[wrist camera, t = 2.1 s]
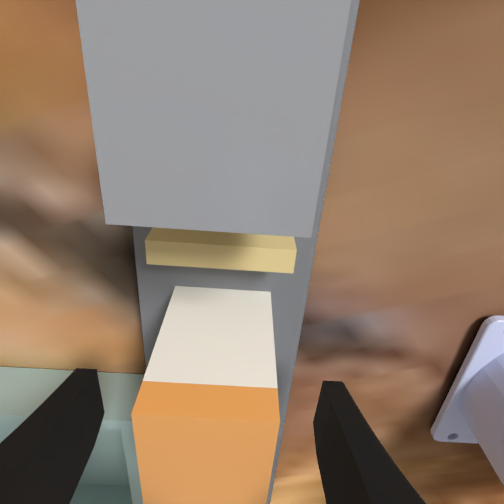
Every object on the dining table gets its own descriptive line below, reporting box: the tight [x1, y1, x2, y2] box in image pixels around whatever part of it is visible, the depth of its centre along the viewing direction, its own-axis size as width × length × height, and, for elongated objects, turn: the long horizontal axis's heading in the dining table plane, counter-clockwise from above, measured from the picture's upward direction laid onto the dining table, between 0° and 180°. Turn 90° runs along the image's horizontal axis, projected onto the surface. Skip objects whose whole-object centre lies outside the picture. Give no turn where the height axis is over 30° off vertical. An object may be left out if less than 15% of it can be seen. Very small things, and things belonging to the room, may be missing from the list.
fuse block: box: [132, 0, 360, 504], centre depth 14 cm, size 6×28×3 cm, turn 176°
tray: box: [0, 367, 145, 504], centre depth 18 cm, size 10×9×2 cm
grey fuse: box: [76, 0, 351, 238], centre depth 8 cm, size 4×4×6 cm
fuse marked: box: [131, 286, 280, 504], centre depth 12 cm, size 4×4×6 cm
